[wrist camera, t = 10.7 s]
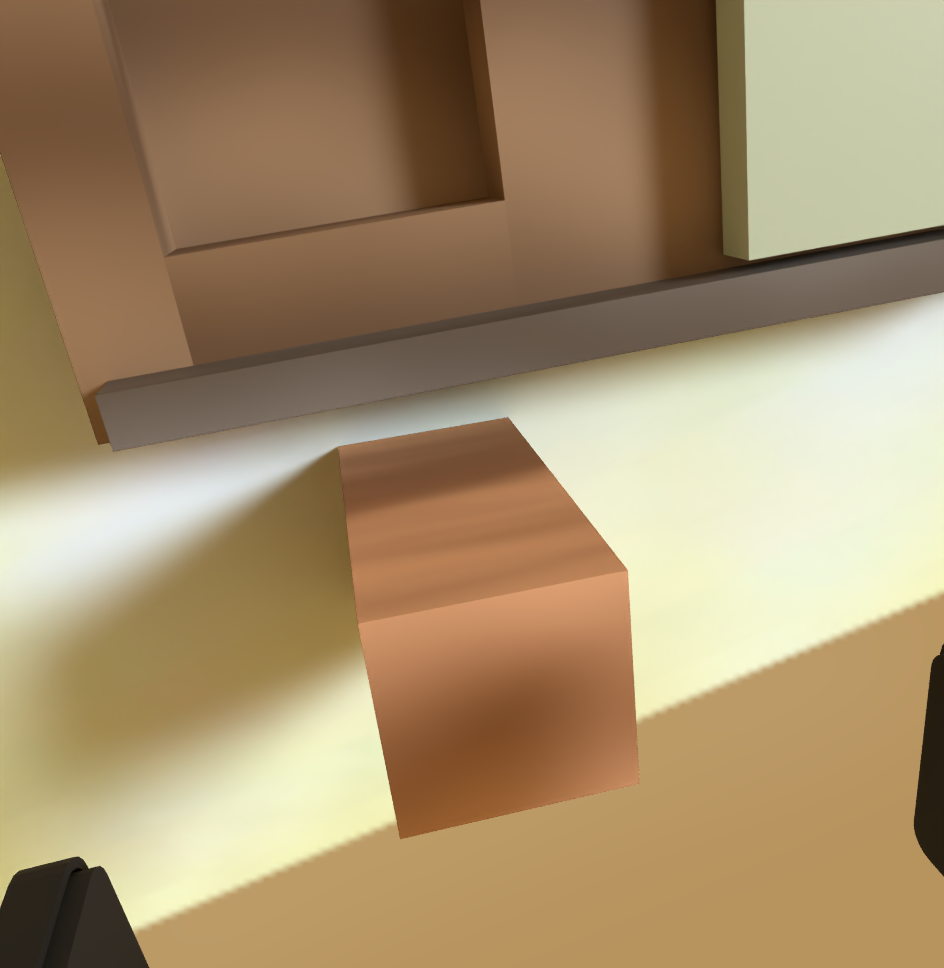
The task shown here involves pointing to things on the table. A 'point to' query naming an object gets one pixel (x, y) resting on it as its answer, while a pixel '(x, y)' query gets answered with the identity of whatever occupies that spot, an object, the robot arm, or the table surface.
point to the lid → (829, 121)
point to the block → (486, 627)
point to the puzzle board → (382, 199)
